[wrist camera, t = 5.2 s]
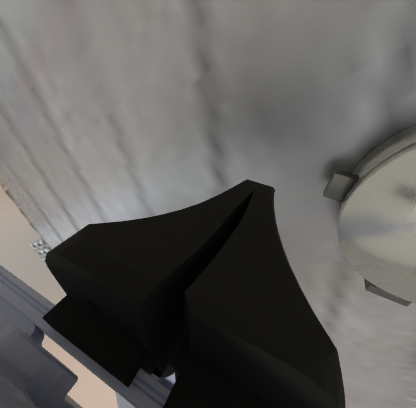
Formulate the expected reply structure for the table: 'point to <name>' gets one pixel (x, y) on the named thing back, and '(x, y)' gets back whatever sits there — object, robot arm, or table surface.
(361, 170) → the grey flat round piece
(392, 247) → the lid
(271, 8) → the table surface
